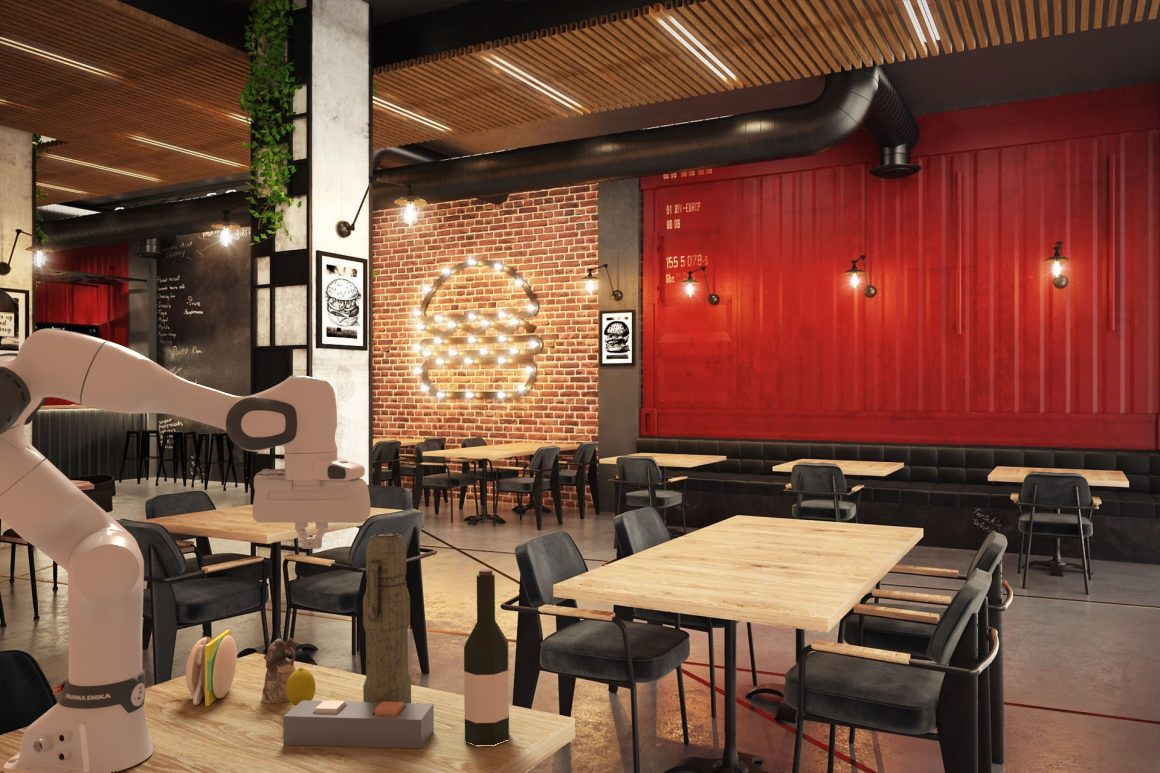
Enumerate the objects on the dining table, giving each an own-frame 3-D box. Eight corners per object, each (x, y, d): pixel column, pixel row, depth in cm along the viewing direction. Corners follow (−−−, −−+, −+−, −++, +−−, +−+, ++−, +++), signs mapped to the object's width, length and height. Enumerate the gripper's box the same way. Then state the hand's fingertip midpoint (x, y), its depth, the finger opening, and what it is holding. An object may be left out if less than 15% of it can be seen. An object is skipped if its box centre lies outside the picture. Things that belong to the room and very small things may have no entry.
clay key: (374, 729, 153) (374, 709, 153) (382, 720, 157) (382, 701, 157) (396, 729, 153) (396, 709, 153) (403, 721, 157) (403, 702, 157)
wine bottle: (498, 750, 149) (496, 576, 150) (455, 744, 152) (453, 573, 152) (518, 732, 157) (516, 567, 157) (477, 727, 160) (475, 564, 160)
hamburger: (202, 686, 184) (202, 630, 185) (241, 685, 185) (241, 629, 185) (178, 706, 172) (177, 646, 173) (220, 705, 173) (219, 645, 173)
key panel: (283, 744, 153) (283, 716, 153) (302, 727, 160) (302, 700, 161) (421, 748, 150) (421, 719, 150) (433, 731, 158) (433, 703, 158)
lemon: (319, 704, 173) (319, 664, 173) (308, 714, 167) (308, 672, 167) (293, 703, 173) (293, 663, 174) (281, 713, 168) (281, 672, 168)
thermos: (420, 707, 170) (418, 529, 171) (399, 730, 158) (397, 539, 159) (376, 706, 171) (375, 529, 172) (353, 728, 160) (352, 538, 160)
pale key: (315, 728, 154) (315, 708, 154) (324, 719, 158) (323, 700, 158) (336, 728, 154) (336, 708, 154) (345, 720, 158) (345, 701, 158)
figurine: (267, 692, 180) (267, 634, 180) (302, 690, 181) (301, 633, 181) (257, 704, 173) (257, 644, 173) (294, 702, 174) (294, 642, 174)
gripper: (245, 470, 148) (245, 551, 148) (360, 469, 146) (361, 551, 146) (262, 467, 154) (263, 544, 154) (373, 466, 152) (374, 545, 152)
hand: (311, 548), depth 150 cm, fingers closed
